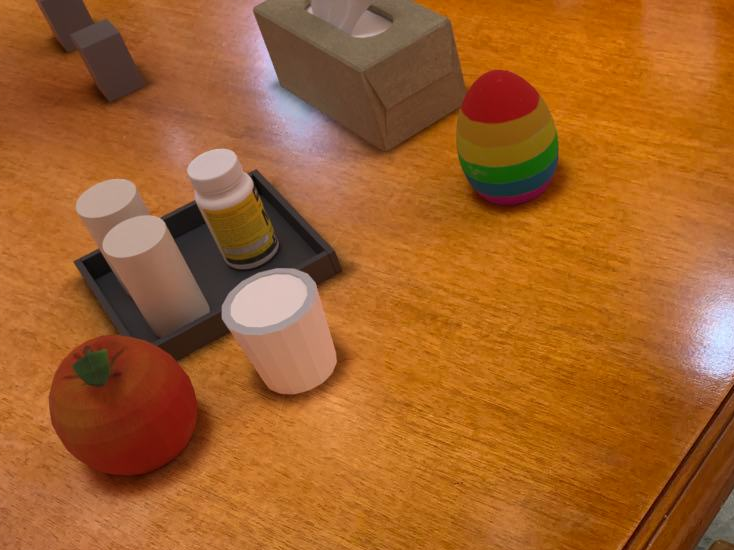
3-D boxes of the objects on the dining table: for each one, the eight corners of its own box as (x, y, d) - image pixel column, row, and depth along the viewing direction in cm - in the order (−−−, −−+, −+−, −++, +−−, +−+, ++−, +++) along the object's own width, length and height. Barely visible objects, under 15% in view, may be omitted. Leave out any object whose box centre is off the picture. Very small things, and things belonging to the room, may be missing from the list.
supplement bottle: (290, 250, 85) (252, 160, 78) (242, 279, 83) (199, 190, 77) (262, 226, 87) (223, 137, 80) (214, 254, 86) (170, 166, 79)
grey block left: (69, 56, 112) (40, 1, 107) (58, 43, 114) (29, -12, 109) (103, 40, 113) (75, -15, 108) (91, 28, 115) (64, -27, 110)
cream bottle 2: (164, 348, 80) (114, 266, 73) (142, 317, 82) (93, 235, 76) (219, 318, 81) (175, 235, 74) (196, 289, 83) (152, 206, 77)
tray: (150, 381, 79) (135, 357, 76) (88, 285, 87) (72, 261, 85) (344, 276, 83) (334, 250, 80) (267, 194, 91) (256, 168, 89)
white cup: (239, 377, 77) (201, 306, 72) (310, 326, 80) (279, 253, 74) (292, 419, 74) (256, 348, 68) (365, 364, 76) (336, 291, 70)
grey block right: (111, 105, 104) (81, 48, 99) (99, 90, 106) (69, 34, 102) (147, 89, 105) (119, 31, 100) (134, 74, 107) (106, 17, 103)
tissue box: (472, 105, 94) (432, -78, 82) (387, 157, 91) (333, -25, 79) (359, 43, 104) (307, -129, 92) (279, 88, 101) (215, -84, 89)
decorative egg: (491, 230, 83) (465, 118, 75) (453, 181, 88) (425, 70, 80) (580, 192, 84) (565, 78, 76) (538, 145, 89) (519, 33, 81)
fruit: (194, 378, 78) (133, 274, 70) (232, 457, 73) (170, 354, 65) (75, 434, 76) (-2, 334, 68) (104, 519, 71) (24, 421, 63)
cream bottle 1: (136, 307, 83) (86, 226, 77) (116, 279, 86) (67, 198, 79) (189, 279, 84) (144, 197, 78) (168, 252, 87) (123, 170, 81)
